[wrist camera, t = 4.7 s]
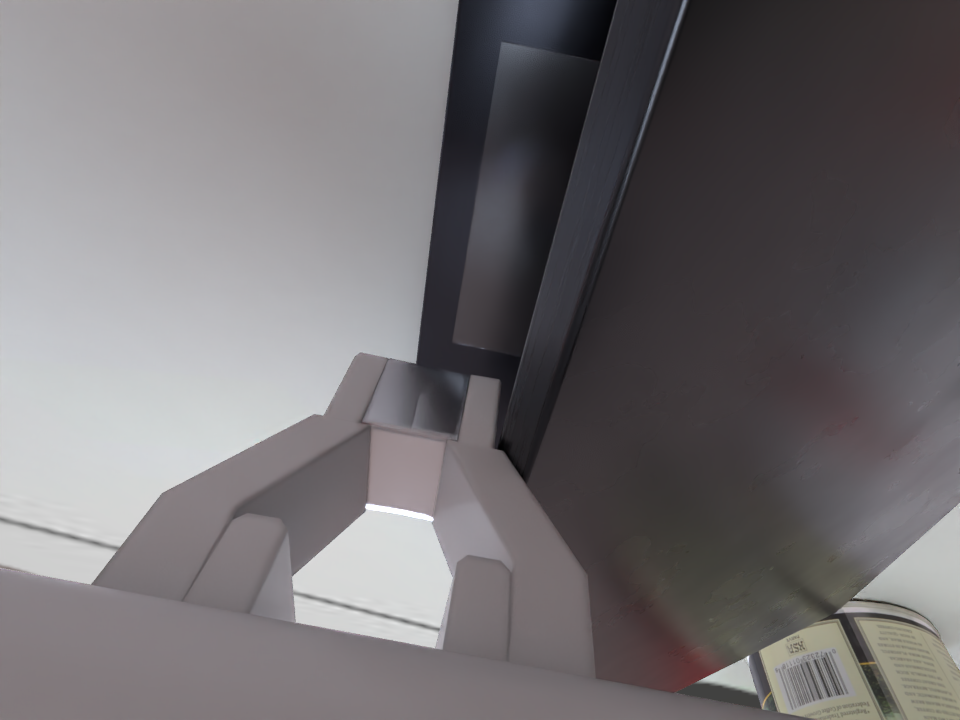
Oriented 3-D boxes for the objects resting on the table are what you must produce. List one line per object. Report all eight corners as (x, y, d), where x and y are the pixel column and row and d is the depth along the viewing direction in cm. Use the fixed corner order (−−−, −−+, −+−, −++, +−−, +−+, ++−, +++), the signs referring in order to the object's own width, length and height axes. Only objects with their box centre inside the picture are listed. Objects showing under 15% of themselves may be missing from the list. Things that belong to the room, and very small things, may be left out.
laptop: (407, 478, 26) (398, 508, 25) (551, -658, 9) (550, -798, 7) (805, 562, 26) (820, 597, 25) (1732, -415, 9) (1980, -503, 7)
